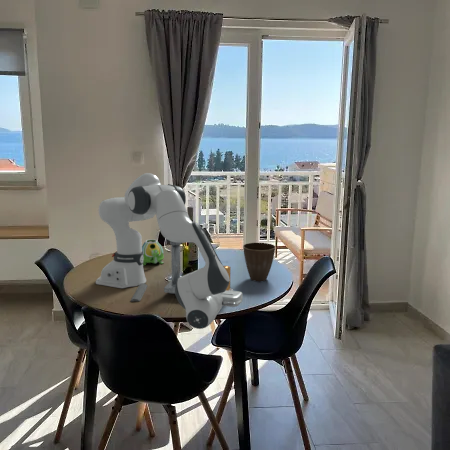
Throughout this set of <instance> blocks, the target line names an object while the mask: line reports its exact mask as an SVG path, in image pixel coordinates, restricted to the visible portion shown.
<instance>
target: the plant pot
mask: <svg viewBox="0 0 450 450" xmlns="http://www.w3.org/2000/svg"><path fill="white" fill-rule="evenodd" d="M242 248H243V255H244V262H245V264H246V269H247V272H248V275H249V278H250V280H251V281H253V282H265V281H267V278H268V276H269V274H270V271H271V267H272V265H273V261H274V257H275V251H276V245H275V244H272V243H269V242H268V243H266V242H250V243H249V242H248V243H244V244H243V246H242Z"/></svg>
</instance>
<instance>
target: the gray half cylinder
mask: <svg viewBox="0 0 450 450" xmlns="http://www.w3.org/2000/svg"><path fill="white" fill-rule="evenodd" d="M147 289H148V285H147V284H146V283H142V284H140V285H138V286H137V288H136V290H135V292H134V294H133V295H132V297H131V299H130V302H141V300H142V298H143V296H144V294H145V293H146V290H147Z"/></svg>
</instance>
